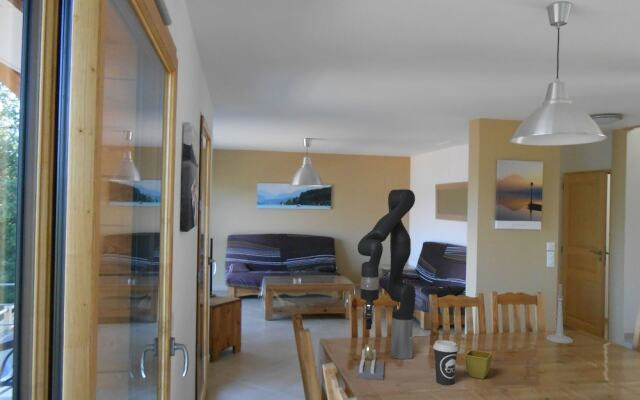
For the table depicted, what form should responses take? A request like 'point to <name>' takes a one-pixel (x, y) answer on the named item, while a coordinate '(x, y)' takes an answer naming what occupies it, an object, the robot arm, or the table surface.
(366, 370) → the door and jamb plate
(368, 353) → the brass bolt
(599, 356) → the table surface
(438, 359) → the coffee cup
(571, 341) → the candlestick
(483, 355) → the flower pot
